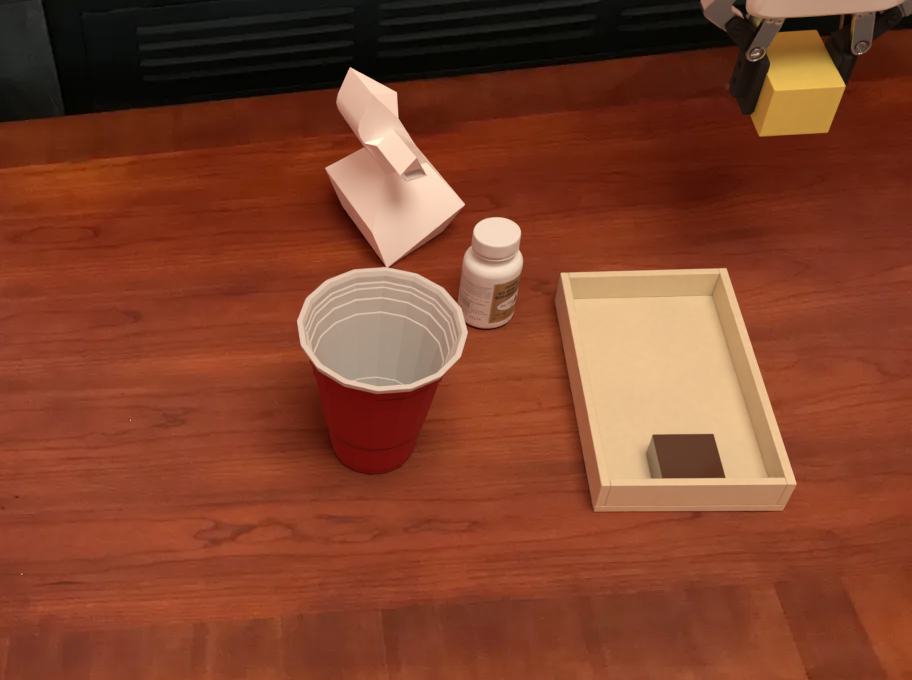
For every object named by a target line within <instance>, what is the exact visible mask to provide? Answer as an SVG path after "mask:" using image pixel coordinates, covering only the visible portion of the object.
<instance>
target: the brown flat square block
mask: <svg viewBox="0 0 912 680" xmlns="http://www.w3.org/2000/svg"><path fill="white" fill-rule="evenodd" d="M646 455H647V460H648V464H649V469H650V473H651V478H652V479H669V478H726V477H725V473H724V470H723V466H722V462H721V459H720V455H719V452H718V448H717V444H716V441H715V437H714V434H653V435H652V438H651V441H650V443H649V446H648V449H647V452H646Z"/></svg>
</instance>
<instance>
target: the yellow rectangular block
mask: <svg viewBox="0 0 912 680" xmlns="http://www.w3.org/2000/svg"><path fill="white" fill-rule="evenodd" d="M824 45H825V42H823V40H822V37H821V36H820V34H819V32H818V30H817V29H807V30H794V31H793V30H792V31H778V33H777V35H776V36H775V38H774V40H773V42H772V43H771V45H770V47H769V49H768V51H767V56H768V59H769V61H770V68H769V71H768V73H767V74H766V77H765V80H764V83H763V86H762V89H761V92H760V95H759V99H758V102H757V105H756V108H755V111H754V112H753V113H752V114H751V115H749V117H750V118H751V121H752V123H753V125H754V128H755V130H756V133H757V135H758V137H761V138H762V137H775V136H776V137H777V136H793V135H794V136H795V135H812V134H827V133H829V131H830V128H831V126H832V123H833V120H834V118H835V115H836V113H837V111H838V108H839V105H840V103H841V100H842V98H843V95H844V92H845V90H846V89H845V87H846V85H845V83H844V82H843V80H842V78H841V76H840V74H839V72H838V70H837V69H836V67H835V65H834V63H833V61H832V59H831V57H830V55H829V53H828V51H827V50H826V48H825V46H824ZM846 88H847V87H846Z"/></svg>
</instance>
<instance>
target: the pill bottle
mask: <svg viewBox="0 0 912 680" xmlns="http://www.w3.org/2000/svg"><path fill="white" fill-rule="evenodd" d="M521 238H522V231H521V227H520V225H518V224H517V223H516V222H515V221H513V220H511V219H509V218H505V217H499V216H494V217H493V216H491V217H487V218H484V219H482V220H480V221H479V222H477V224H475V226H474V227H473V231H472V237H471V245H470V246H469V247H468V248H467V250H466V251H465V253H464V255H463V259H462V265H461V272H460V273H461V275H460V281H459V288H458V296H457V297H458V298H457V304H458V305H459V306H460V307H461V309H462V312H463V316H464V320H465V324H468V325H469V326H472V327H475V328H479V329H495V328H499V327H502V326H504V325H506V324H507V323H508V322H510V321H511V320H512V318H513V316H514V314H515V309H516V303H517V298H518V294H519V288H520V283H521V277H522V271H523V266H524V257H523V254H522V252H521V250H520V245H521Z"/></svg>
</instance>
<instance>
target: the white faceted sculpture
mask: <svg viewBox="0 0 912 680" xmlns="http://www.w3.org/2000/svg"><path fill="white" fill-rule="evenodd" d="M343 79H344V80H343V82H342V83H341V86H340V88H339V91H338V93H337V96H336V101H335V104H336V107H337V110H338V111H339V113H340V114H341V116H342V117H343V119H344V120H345V122H346V123H347V124H348V126H349V128H350V129H351V130H352V132H353V133H354V134H355V136H356V137H357V139H358V140H359V142H360V144H361V145H362V148H360V149H358V150H356V151H355V152H352V153H351V154H349V155H347V156H345V157H342V158H340V159H339V160H338V161H336V162H333V163H332V164H330V165H328V166H326V167H324V169H325V172H326V174H327V176H328V179H329V180H330V182H331V185H332V187H333V189H334V191H335V193H336V196H337V198H338V200H339V202H340V205H341V206H342V209H343V210H345V212H346V213H347V215H348V216H349V218H350V219H351V221H352V222H353V223H354V224H355V226H356V227H357V229H358V230H359V231H360V233H361V234H362V235H363V237H364V239H365V240H366V241H367V243H368V245H370V246H371V248H372V249H373V251H374V252H375V254H376V255H377V256H378V257H379V259H380V261H381V262H382V263H383V265H384V267H387V268H390V267H391V266H393V265H394V264H396V263H397V262H399V261H400V260H401V259H403V258H405V257H406V256H408V255H409V254H411V253H412V252H414V251H415V250H417V249H418V248H421V247H422V246H424V245H425V244H426V243H428V242H429V241H431V240H432V239H434V238H436V237H437V236H439V235H440V234H442V233H443V232H444V231H445V230H446V228H448V226H449V225H450V224H451V223H452V221H453V220H454V219H455V217H456V216H457V215H458V214H459V213H460V212H461V211H462V210H463V208H464V207H465V206H466V204H465V202H464V201H463V200H462V199H461V197H460V196H459V195H458V194H457V193H456V192H455V190H454V189H453V188H452V187H451V186H450V184H449V183H448V182H447V181H446V180H445V178H444V177H443V176H442V175H441V174H440V172H439V171H438V170H437V169H436V168H435V167H434V165H433V164H432V163H431V162H430V161H429V159H428V158H427V157H426V156H425V154H424V153H423V152H422V151H421V150H420V149H419V147H418V146H417V145H416V143H415V142H414V140H413V138H411V136H410V134H409V132H408V131H407V130H406V128H405V127H404V125H403V123H402V122H401V119H399V104H398V92H397V91H395V90H393V89H391V88H389V87H387V86H386V85H384V84H382V83H380V82H378V81H376V80H375V79H373V78H371V77H369V76H367V75H365V74H364V73H361V72H359V71H358V70H356V69H355V68H352V67H349V69H348V70H347V73H346V75H345V77H344V78H343Z"/></svg>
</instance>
